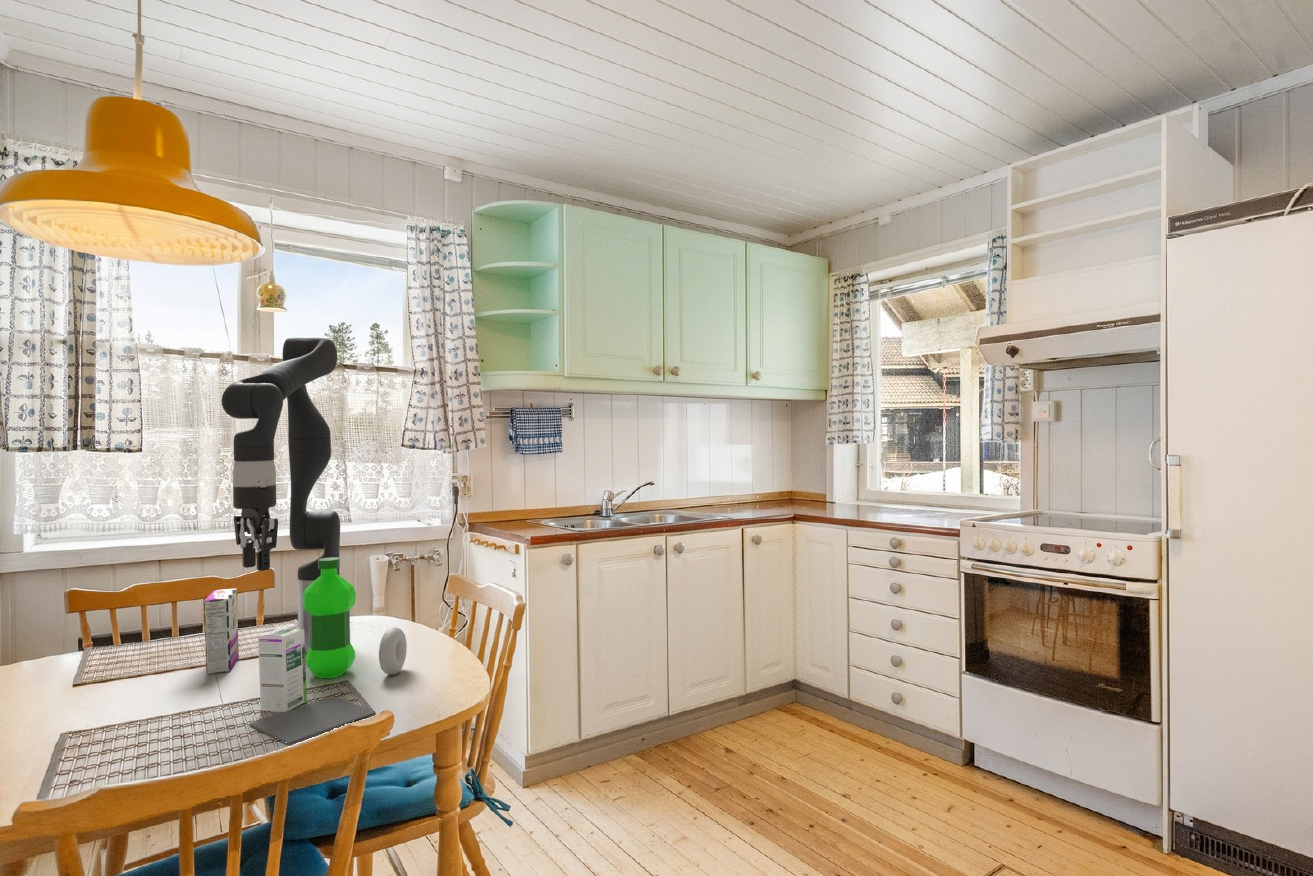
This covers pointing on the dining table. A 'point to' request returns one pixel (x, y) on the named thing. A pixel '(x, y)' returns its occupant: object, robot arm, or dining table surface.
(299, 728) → the mat
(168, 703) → the dining table surface
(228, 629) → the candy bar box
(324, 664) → the plastic bottle
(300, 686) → the syrup box
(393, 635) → the donut
